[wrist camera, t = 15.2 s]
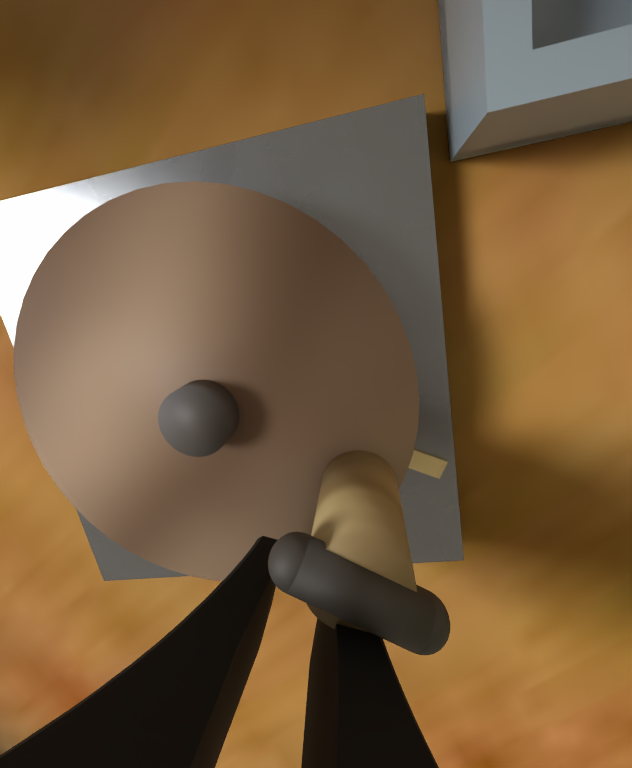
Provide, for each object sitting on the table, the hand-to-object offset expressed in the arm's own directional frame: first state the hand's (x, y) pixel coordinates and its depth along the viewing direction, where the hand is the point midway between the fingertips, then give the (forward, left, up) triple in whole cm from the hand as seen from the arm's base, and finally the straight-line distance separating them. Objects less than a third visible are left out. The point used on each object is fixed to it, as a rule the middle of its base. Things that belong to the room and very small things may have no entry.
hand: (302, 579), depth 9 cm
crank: (-4, -2, -2) cm, 5 cm away
